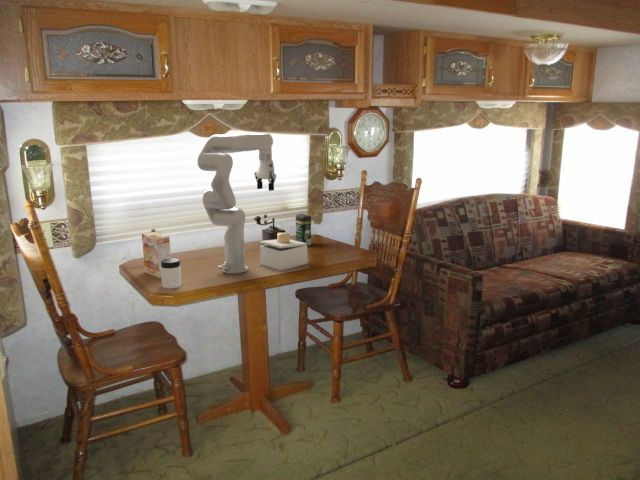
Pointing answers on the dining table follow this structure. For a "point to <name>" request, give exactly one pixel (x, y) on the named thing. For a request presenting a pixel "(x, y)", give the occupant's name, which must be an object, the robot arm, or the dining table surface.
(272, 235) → the brown coffee grinder
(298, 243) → the box lid
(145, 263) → the coffeecake box
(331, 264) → the dining table surface
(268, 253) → the carton
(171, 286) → the jar
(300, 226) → the coffee jar
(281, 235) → the beige egg-shaped stone
